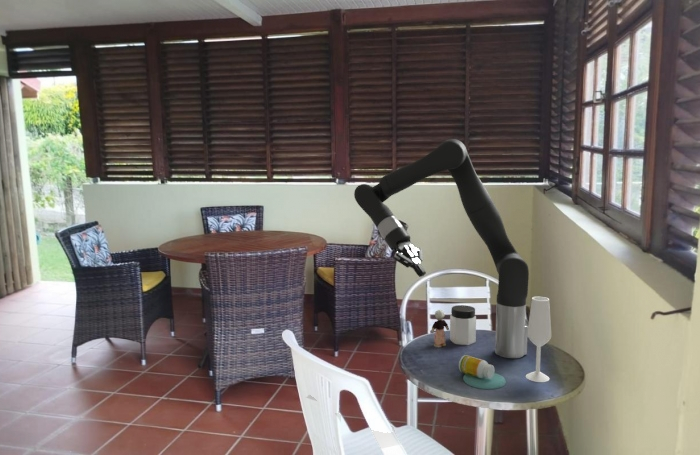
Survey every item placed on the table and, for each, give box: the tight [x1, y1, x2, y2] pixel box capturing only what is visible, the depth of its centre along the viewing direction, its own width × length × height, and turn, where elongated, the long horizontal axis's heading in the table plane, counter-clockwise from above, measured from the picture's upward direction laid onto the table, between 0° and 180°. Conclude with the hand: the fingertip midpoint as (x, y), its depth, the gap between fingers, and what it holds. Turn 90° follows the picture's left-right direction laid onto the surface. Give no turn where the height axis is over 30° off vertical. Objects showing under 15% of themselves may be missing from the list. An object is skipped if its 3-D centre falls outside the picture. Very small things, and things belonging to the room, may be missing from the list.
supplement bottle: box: [458, 354, 496, 379], centre depth 161 cm, size 5×5×10 cm
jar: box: [449, 304, 477, 346], centre depth 192 cm, size 9×8×12 cm
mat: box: [462, 372, 507, 390], centre depth 160 cm, size 12×12×1 cm
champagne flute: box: [525, 296, 552, 383], centre depth 160 cm, size 7×7×24 cm
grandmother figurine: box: [430, 309, 450, 348], centre depth 187 cm, size 8×4×13 cm, turn 133°
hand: (423, 275), depth 172 cm, fingers closed
